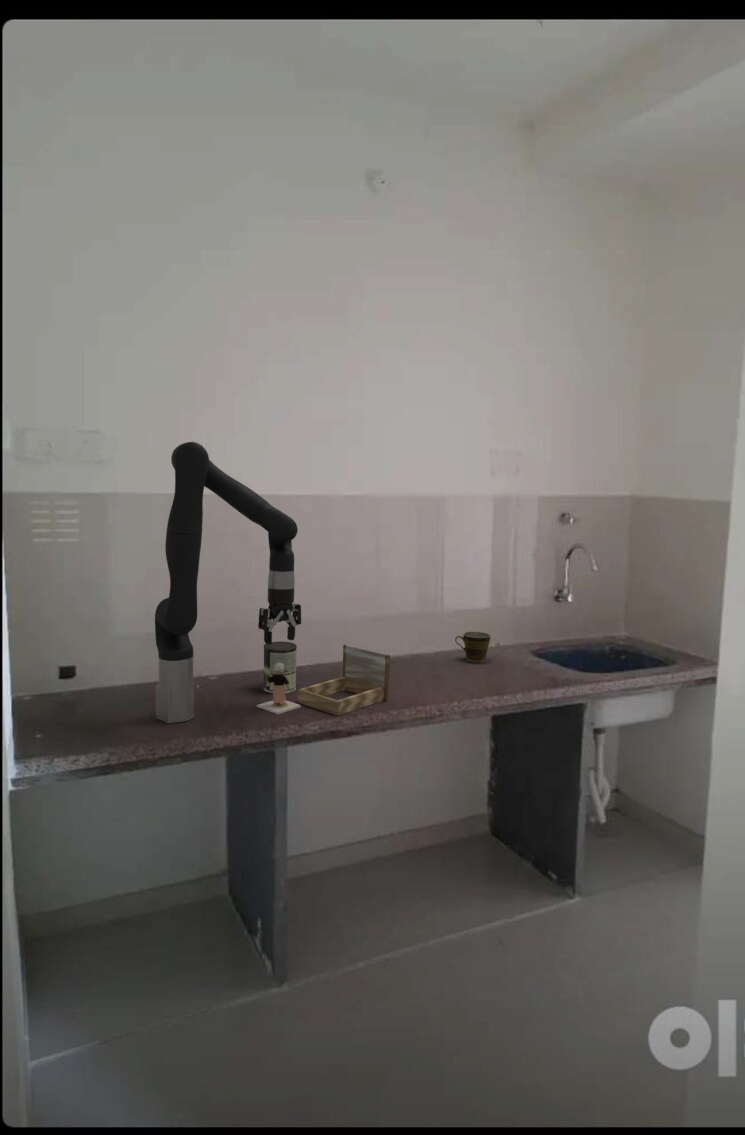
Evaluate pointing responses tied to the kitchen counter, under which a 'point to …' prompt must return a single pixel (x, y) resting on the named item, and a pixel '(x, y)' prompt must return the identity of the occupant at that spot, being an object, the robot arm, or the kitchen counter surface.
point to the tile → (278, 707)
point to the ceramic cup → (475, 646)
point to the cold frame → (352, 683)
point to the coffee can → (280, 654)
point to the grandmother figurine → (279, 685)
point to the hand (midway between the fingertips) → (279, 641)
